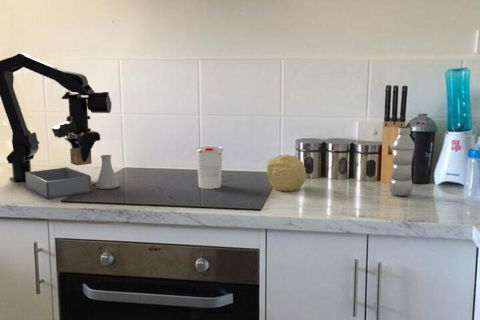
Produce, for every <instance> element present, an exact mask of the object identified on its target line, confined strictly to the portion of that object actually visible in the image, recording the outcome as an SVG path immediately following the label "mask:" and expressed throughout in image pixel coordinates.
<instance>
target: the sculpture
mask: <svg viewBox="0 0 480 320" xmlns="http://www.w3.org/2000/svg"><path fill="white" fill-rule="evenodd" d="M266 177H267V178H268V181H269V183H270V186H272V188H273V189H274V190H277V191H278V192H295V191H298V190H300V189H301V188H302V187H303V186H304V184H305V181H306V179H307V178H306V177H307V172H306V168H305V165H304V162H303V161H302V160H300V159H299V158H298V157H297V156H296V155H289V154H283V155H282V154H279V155H277V156H275V157H273V158H270V159H268V160H267V163H266Z"/></svg>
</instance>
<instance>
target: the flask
mask: <svg viewBox="0 0 480 320" xmlns="http://www.w3.org/2000/svg"><path fill="white" fill-rule="evenodd" d="M100 158H101V167H100V170H99V175H98V178H97V181H96V185H95V189H102V190H109V189H111V190H112V189H115V188H118V187H119V186H120V182H119V180H118V179H117V176H116V174H115V171H114V169H113V165H112V162H111V161H112V160H111V158H112V155H111V154H103V155H100Z"/></svg>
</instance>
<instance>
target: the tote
mask: <svg viewBox="0 0 480 320" xmlns="http://www.w3.org/2000/svg"><path fill="white" fill-rule="evenodd" d="M25 176H26V181H25V188H26V189H27V190H30V191H31V192H33V193H35V194H37V195H38V196H40V197H42V198H44V199H46V200H52V199H58V198H65V197H70V196H77V195H82V194H83V195H84V194H89V193H92V190H93V189H92V176H91V175H90V174H87V173H84V172H81V171H80V170H79V171H78V170H76V169H72V168H71V167H67V166H64V167H56V168H49V169H41V170H33V171H32V170H31V172H25Z"/></svg>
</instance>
